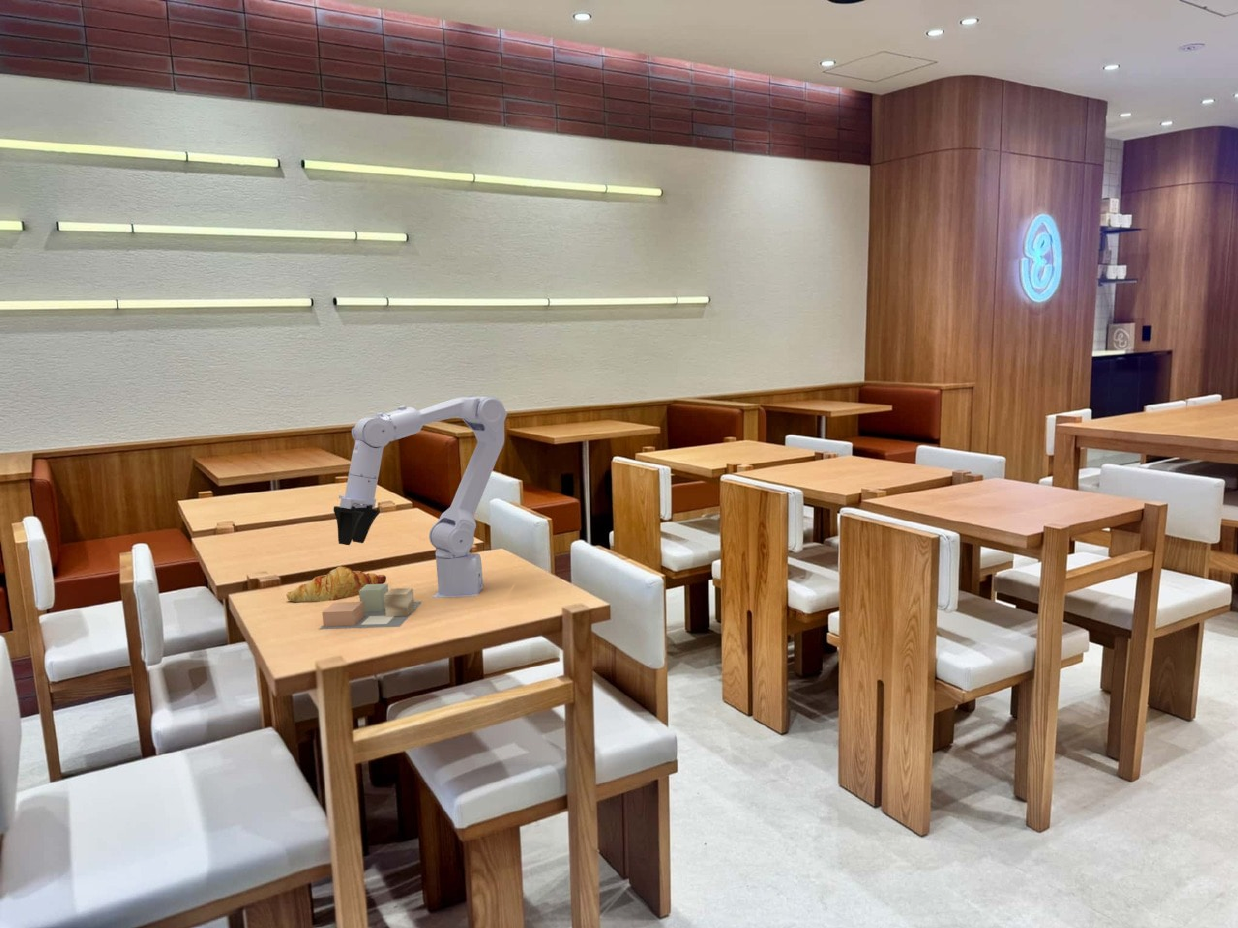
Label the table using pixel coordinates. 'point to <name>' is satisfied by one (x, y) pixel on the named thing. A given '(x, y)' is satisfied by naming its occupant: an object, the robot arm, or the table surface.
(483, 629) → the table surface
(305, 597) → the croissant
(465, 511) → the robot arm
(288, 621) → the table surface
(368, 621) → the board
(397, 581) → the table surface
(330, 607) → the terracotta slab
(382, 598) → the sage cube
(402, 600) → the maple cube
